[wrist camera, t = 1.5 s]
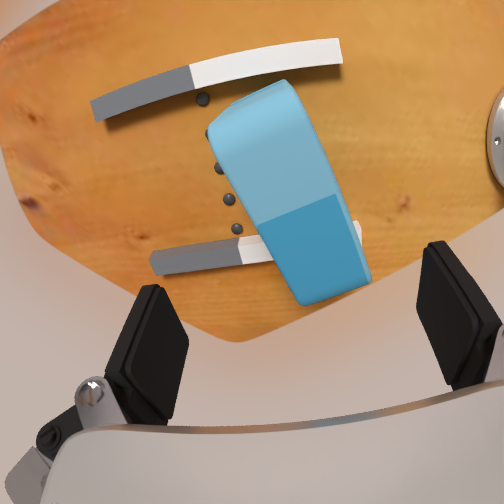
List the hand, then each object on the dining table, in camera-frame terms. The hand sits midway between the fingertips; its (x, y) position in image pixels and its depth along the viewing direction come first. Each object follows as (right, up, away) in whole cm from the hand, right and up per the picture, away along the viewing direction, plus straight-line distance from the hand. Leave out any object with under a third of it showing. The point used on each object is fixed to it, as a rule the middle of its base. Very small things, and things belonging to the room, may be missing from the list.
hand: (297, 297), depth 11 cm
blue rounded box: (+2, +10, +14) cm, 17 cm away
